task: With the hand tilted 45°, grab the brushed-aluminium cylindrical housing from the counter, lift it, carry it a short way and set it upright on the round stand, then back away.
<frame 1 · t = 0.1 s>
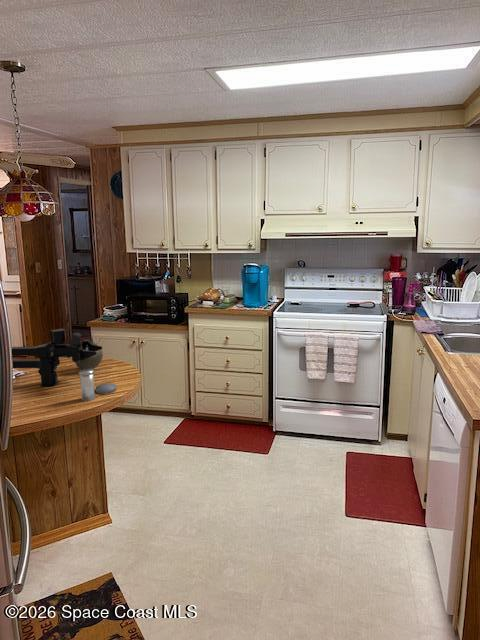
hand: (99, 350, 221), 17 cm above the countertop, tool horizontal, fingers open, 9 cm apart
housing: (88, 398, 205), on the countertop
grey round ball: (89, 370, 245), on the countertop
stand: (106, 390, 215), on the countertop
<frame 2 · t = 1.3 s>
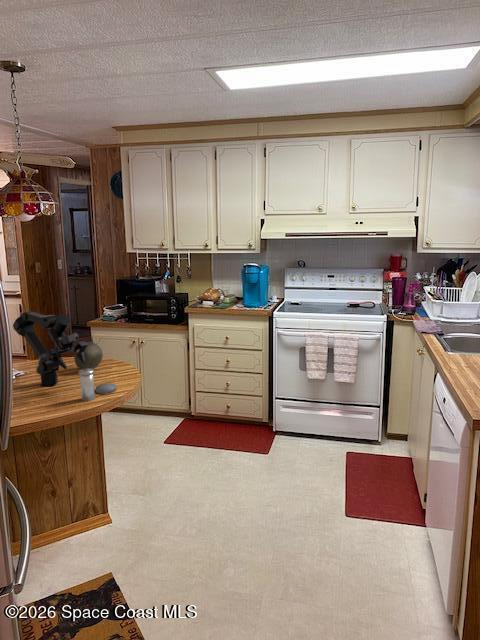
hand: (75, 366, 207), 14 cm above the countertop, tool tilted 45°, fingers open, 9 cm apart
nothing on the countertop moved.
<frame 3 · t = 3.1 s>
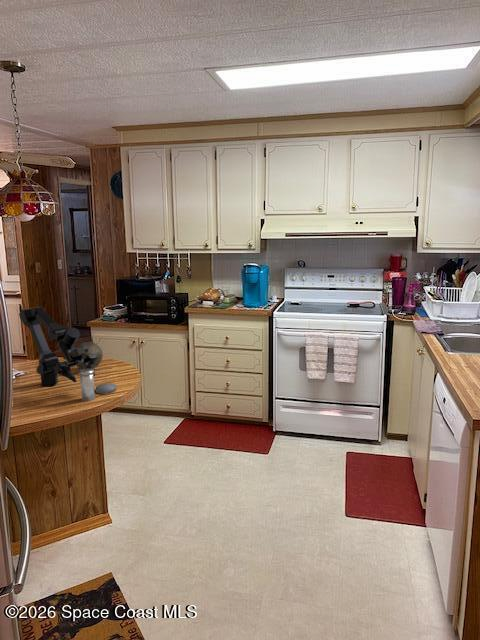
hand: (85, 379, 204), 9 cm above the countertop, tool tilted 45°, fingers open, 9 cm apart
nothing on the countertop moved.
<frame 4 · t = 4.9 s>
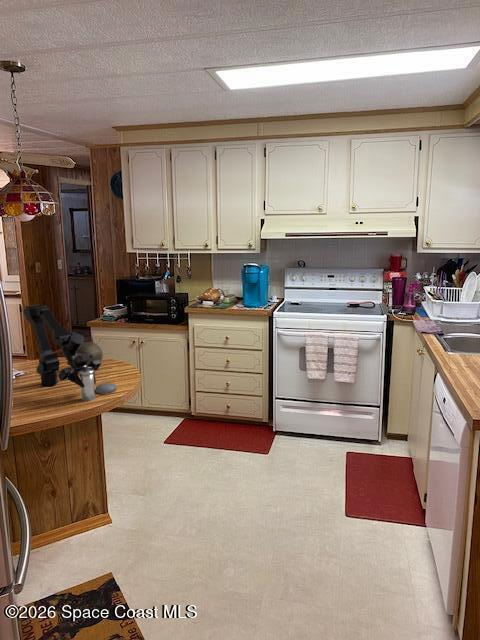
hand: (89, 385, 203), 7 cm above the countertop, tool tilted 45°, fingers closed on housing, 6 cm apart
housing: (88, 398, 205), on the countertop, touching gripper
everything else where it was.
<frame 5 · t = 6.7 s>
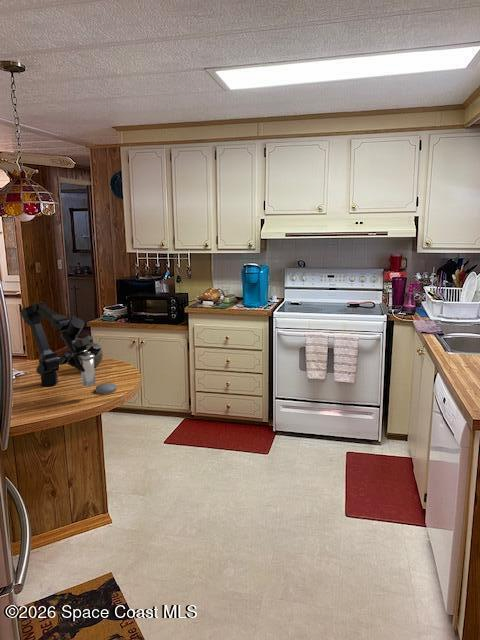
hand: (89, 369, 202), 13 cm above the countertop, tool tilted 45°, fingers closed on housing, 6 cm apart
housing: (88, 383, 204), point 7 cm above the countertop, touching gripper
everything else where it was.
when the fingers open (10 cm above the countertop, at t = 8.8 s): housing drops 1 cm, resting on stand.
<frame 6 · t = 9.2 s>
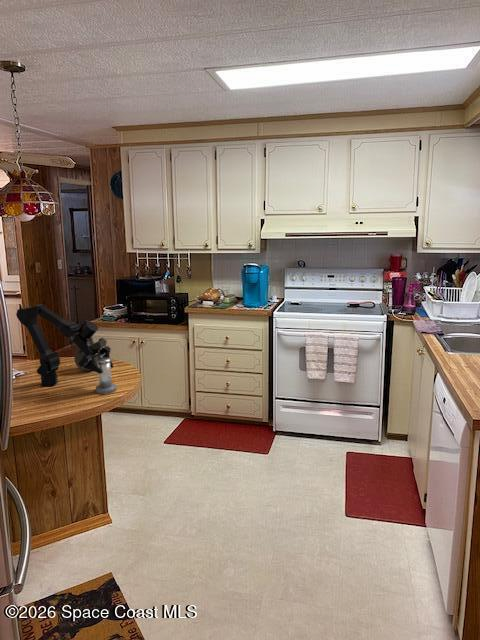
hand: (107, 370, 213), 10 cm above the countertop, tool tilted 45°, fingers open, 9 cm apart
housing: (105, 386, 215), point 2 cm above the countertop, touching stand
everything else where it was.
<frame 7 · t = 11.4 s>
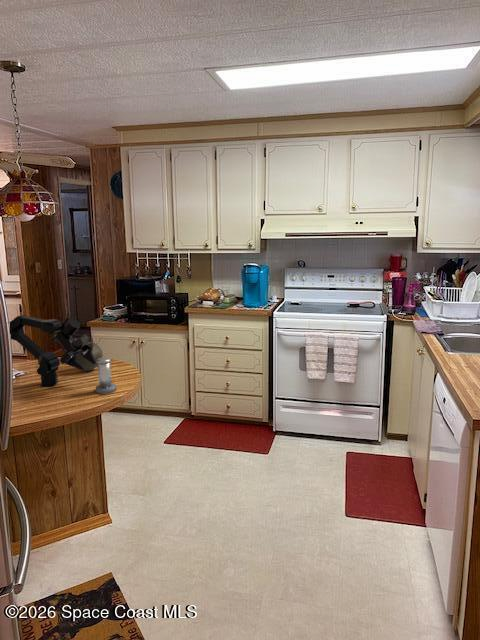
hand: (89, 366, 215), 11 cm above the countertop, tool tilted 45°, fingers open, 9 cm apart
nothing on the countertop moved.
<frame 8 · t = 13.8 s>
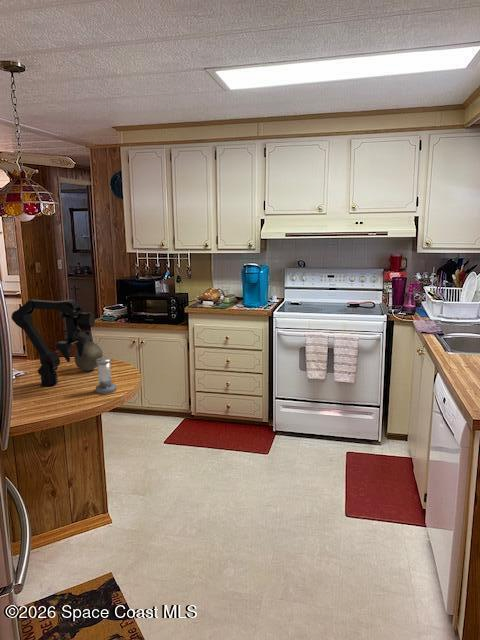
hand: (74, 359, 220), 13 cm above the countertop, tool pointing down, fingers open, 9 cm apart
nothing on the countertop moved.
at the end: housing 0.1 cm off-centre on the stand, point 2.0 cm above the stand's base; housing tilted 0°; the gripper is holding nothing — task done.
